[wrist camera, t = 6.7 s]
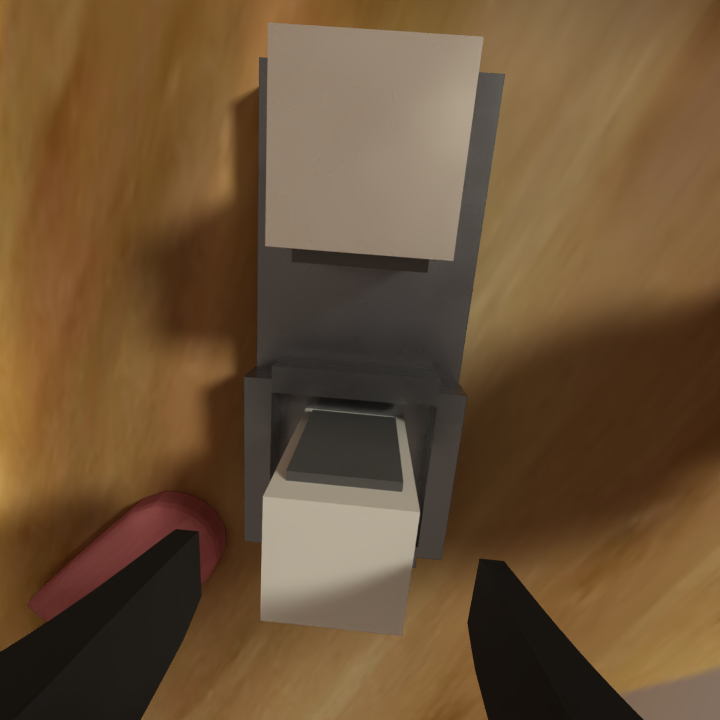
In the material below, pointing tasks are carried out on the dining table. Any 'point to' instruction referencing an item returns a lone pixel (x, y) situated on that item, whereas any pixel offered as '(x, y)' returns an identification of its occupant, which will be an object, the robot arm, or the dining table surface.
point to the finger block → (340, 525)
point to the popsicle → (132, 547)
